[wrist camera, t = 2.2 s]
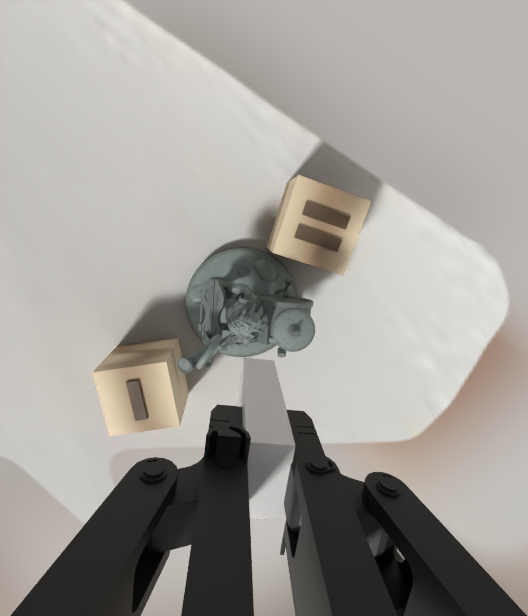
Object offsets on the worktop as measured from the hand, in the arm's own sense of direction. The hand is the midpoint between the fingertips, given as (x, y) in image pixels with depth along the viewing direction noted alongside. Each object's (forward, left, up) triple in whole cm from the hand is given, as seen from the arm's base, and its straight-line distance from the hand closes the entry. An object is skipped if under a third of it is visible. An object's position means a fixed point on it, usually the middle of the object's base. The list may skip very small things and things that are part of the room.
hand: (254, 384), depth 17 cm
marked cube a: (-8, -8, -17) cm, 21 cm away
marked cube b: (+5, +8, -17) cm, 20 cm away
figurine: (0, 0, -18) cm, 18 cm away
